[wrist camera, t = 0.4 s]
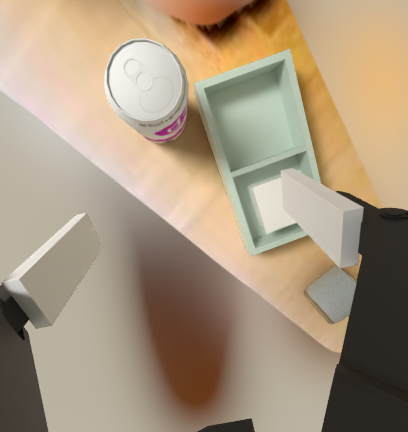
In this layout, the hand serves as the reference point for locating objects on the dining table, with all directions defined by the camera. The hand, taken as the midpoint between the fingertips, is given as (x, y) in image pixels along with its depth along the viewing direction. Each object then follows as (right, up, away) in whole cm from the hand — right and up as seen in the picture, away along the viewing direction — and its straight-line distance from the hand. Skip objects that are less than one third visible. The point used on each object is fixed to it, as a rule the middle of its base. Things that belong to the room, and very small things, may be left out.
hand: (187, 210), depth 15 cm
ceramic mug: (+25, -15, +30) cm, 42 cm away
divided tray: (+10, +9, +23) cm, 27 cm away
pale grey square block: (+13, +3, +24) cm, 27 cm away
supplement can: (-6, +15, +21) cm, 26 cm away
